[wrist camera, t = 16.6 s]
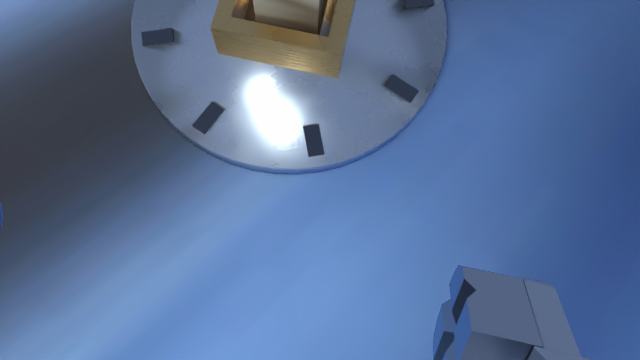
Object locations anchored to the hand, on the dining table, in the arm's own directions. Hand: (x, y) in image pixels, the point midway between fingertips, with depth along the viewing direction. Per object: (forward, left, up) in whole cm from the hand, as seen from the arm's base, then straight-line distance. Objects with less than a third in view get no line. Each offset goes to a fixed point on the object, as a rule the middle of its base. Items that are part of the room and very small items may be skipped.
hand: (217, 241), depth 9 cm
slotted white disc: (+4, -18, -23) cm, 30 cm away
